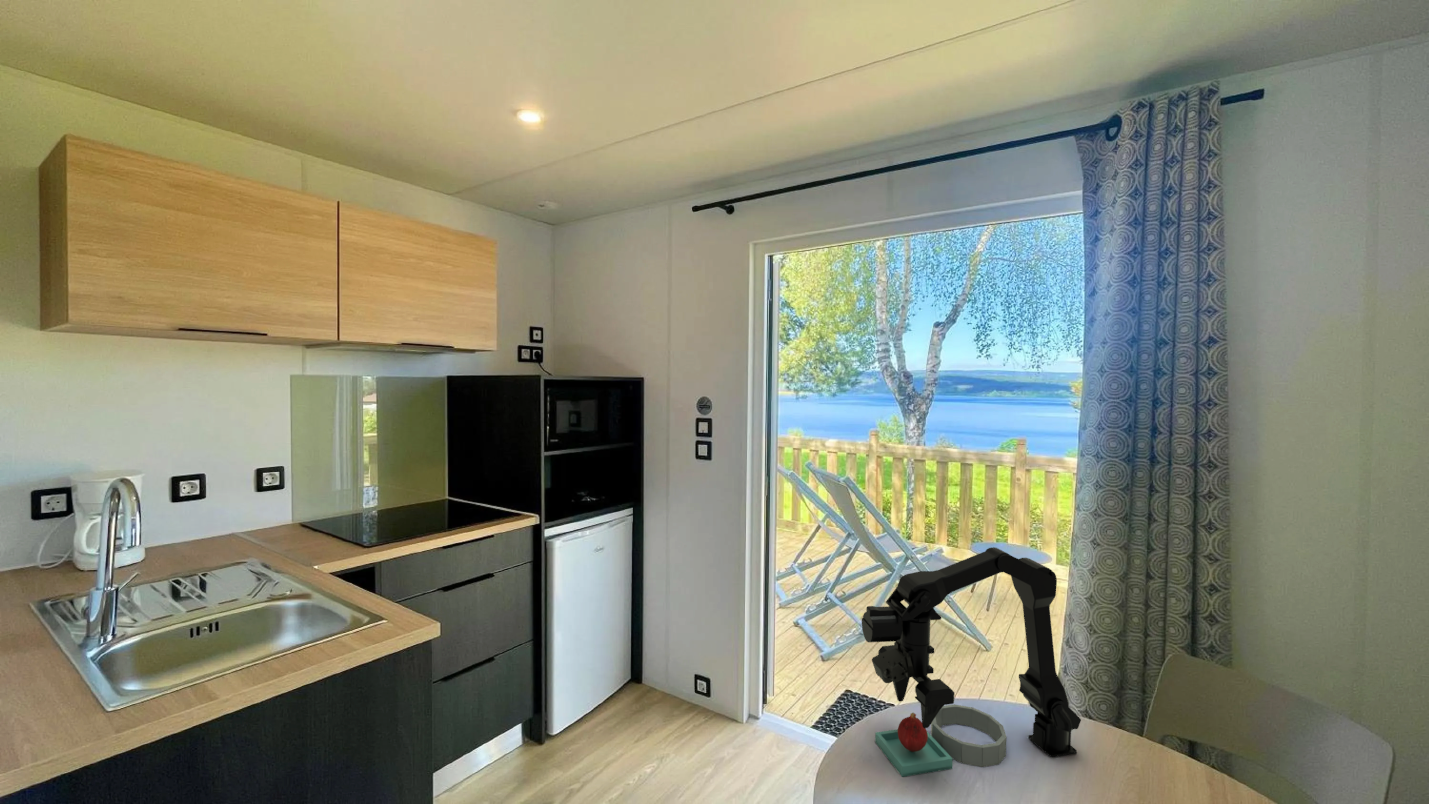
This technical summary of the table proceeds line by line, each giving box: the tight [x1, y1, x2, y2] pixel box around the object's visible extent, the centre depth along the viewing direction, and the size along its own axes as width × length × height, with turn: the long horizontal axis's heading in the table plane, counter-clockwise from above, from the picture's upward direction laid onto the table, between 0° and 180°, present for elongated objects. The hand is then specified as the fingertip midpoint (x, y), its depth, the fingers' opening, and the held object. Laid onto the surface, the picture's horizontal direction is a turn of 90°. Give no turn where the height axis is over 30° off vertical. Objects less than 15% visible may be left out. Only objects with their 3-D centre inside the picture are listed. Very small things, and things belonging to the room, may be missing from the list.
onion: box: [897, 712, 928, 752], centre depth 116 cm, size 6×6×8 cm
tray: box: [874, 728, 954, 778], centre depth 116 cm, size 11×11×2 cm
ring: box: [930, 704, 1008, 768], centre depth 119 cm, size 14×14×4 cm
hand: (912, 713), depth 115 cm, fingers open, 9 cm apart
